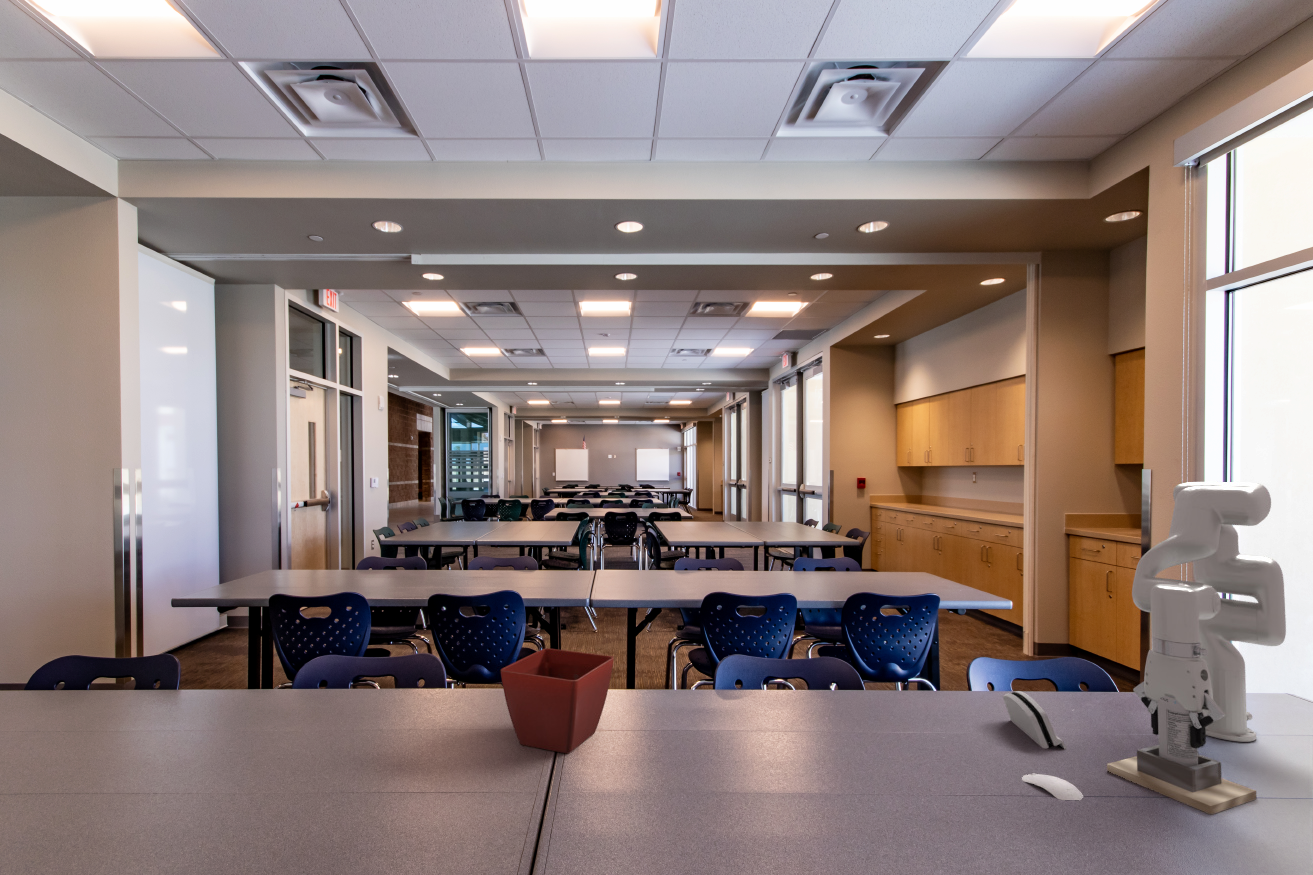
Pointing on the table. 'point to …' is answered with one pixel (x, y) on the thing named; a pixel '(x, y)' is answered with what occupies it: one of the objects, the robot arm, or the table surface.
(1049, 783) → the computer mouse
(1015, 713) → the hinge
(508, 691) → the plant pot
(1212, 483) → the robot arm
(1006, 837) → the table surface
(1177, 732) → the energy drink can
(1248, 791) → the socket board
